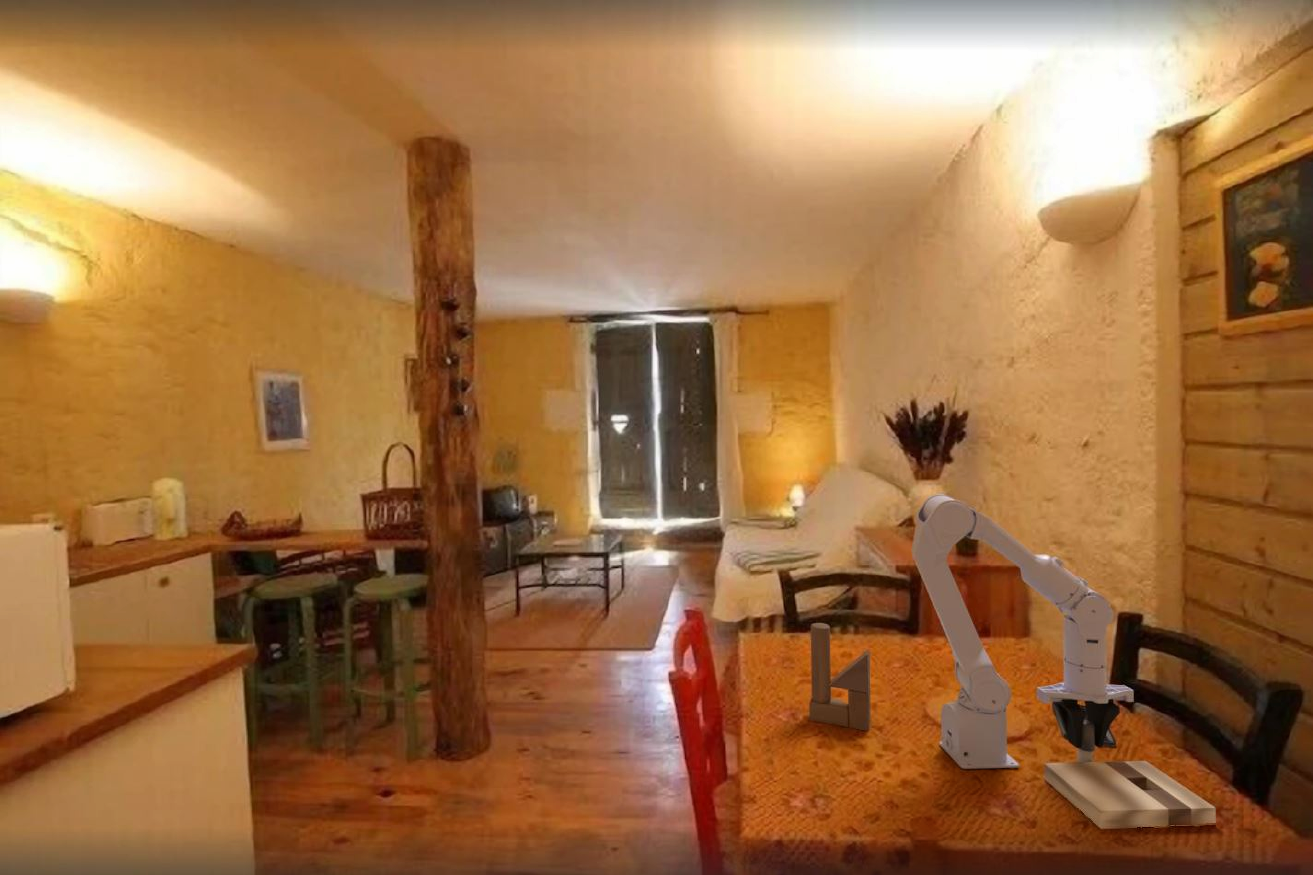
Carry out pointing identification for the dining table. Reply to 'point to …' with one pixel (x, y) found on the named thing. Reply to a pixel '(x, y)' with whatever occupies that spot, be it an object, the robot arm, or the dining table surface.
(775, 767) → the dining table surface
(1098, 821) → the board
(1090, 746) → the grey cylinder
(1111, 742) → the phone
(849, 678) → the wooden block
